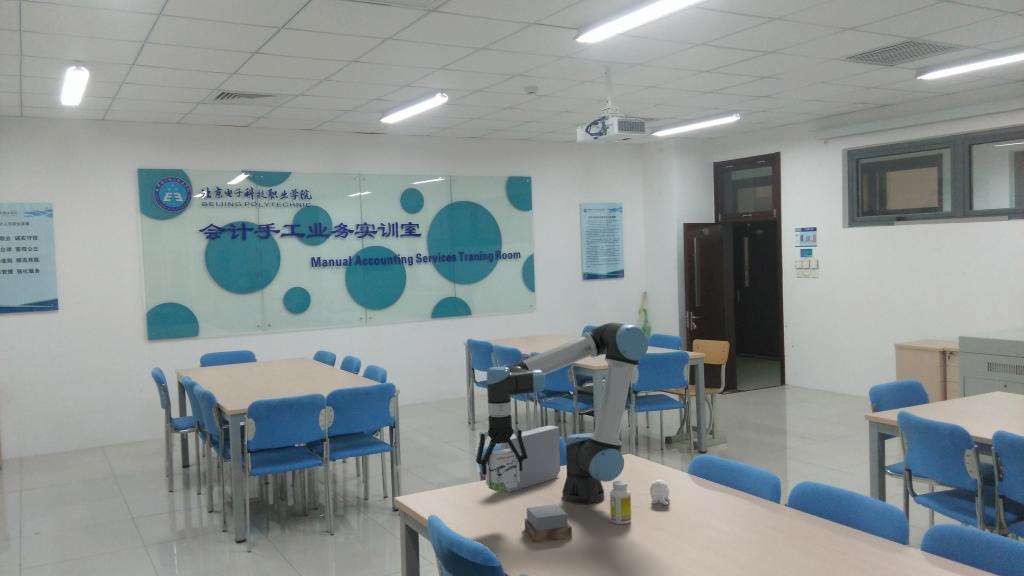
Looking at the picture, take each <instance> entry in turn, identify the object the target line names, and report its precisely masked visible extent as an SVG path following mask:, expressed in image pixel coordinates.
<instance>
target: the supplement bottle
mask: <svg viewBox="0 0 1024 576" xmlns="http://www.w3.org/2000/svg"><path fill="white" fill-rule="evenodd" d="M612 488H613V489H611V490H610V492H609V501H610V503H609V504H610V507H609V508H610V510H609V511H610V521H611V522H612V523H613V524H615V525H616V524H617V525H627V524H630V523H631V521H632V509H631V508H632V507H631V505H632V504H631V501H632V500H631V499H632V498H631V492H630V490H629V489H627V488H628V482H627V481H626V480H625V481H624V480H615V481H613V482H612Z"/></svg>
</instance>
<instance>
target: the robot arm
mask: <svg viewBox="0 0 1024 576" xmlns="http://www.w3.org/2000/svg"><path fill="white" fill-rule="evenodd" d="M648 349H649V339H648V336H647V334H646V332H645V331H644V330H643V328H641V327H639V326H636V325H633V324H631V323H630V324H628V323H621V322H607V323H604V324H602V325H599V326H597V327H594V328H593V329H590V330H588V331H584V332H583V333H582V334H581V336H580V337H577V338H575V339H573V340H570V341H567V342H565V343H563V344H561V345H558V346H556V347H554V348H550V349H548V350H546V351H543V352H541V353H539V354H538V353H537V354H536V355H533V356H532V357H529V358H526V359H523V360H522V361H519V362H516V363H514V364H511V363H510V364H508V363H507V364H504V365H502V366H492V367H489V368H487V371H486V390H487V414H488V415H489V416H488V430H487V432H479V434H478V435H479V443H478V449H477V453H476V458H475V462H476V463H477V465H481V473H482V475H483V476H485V477H484V479H485V484H486V486H489V485H490V484H489V465H488V459H489V457H490V455H491V453H492V452H493V451H494V448H495V447H496V445H499V444H500V445H501V443H506V442H507V443H508V444H509V446H510V448H511V449H512V451H513V452H514V454H515V455H516V458H517V460H516V466H517V482H520V473H519V471H522V461H523V460H524V459H527V454H526V450H525V447H524V444H523V440H522V432H523V431H522V430H521V429H520V428H517V429H513V424H512V422H513V421H512V415H511V413H512V403H511V402H512V399H511V397H512V396H516V395H525V394H526V395H527V394H535V393H539V392H543V391H544V390H545V388H546V375H548V374H551V373H553V372H556V371H557V370H560V369H563V368H565V367H568V366H571V365H572V364H574V363H577V362H579V361H582V360H584V359H586V358H589V357H590V358H593V359H594V358H596V357H599V356H602V355H603V356H604V355H605V357H604V360H605V362H606V363H607V370H606V374H605V379H604V384H603V388H602V391H601V392H602V393H601V396H600V397H601V398H600V403H599V407H598V412H597V417H596V422H595V427H594V432H592V433H591V432H589V433H587V432H586V433H585V432H584V433H576V434H570V435H567V437H566V440H565V453H566V454H565V455H566V456H565V458H566V478H565V481H564V485H563V488H562V492H561V493H562V499H563V500H564V501H566V502H568V503H572V504H577V505H585V504H587V505H588V504H589V505H591V504H596V503H599V502H602V501H603V500H605V490H604V489H605V488H604V487H603V484H602V482H606V483H607V482H612V481H614V480H615V479H616V478H618V477H619V476H620V475H621V473H622V472H623V470H624V468H625V467H624V466H625V458H624V457H623V454H622V453H621V451H622V445H623V443H622V441H621V439H620V434H621V429H622V428H621V427H622V425H623V418H624V414H625V409H626V404H627V399H628V395H629V389H630V383H631V380H632V375H633V370H634V369H636V368H637V367H639V363H640V359H642V358H643V357H645V355H646V354H647V352H648ZM513 434H515V436H516V437H517V440H518V444H519V447H520V450H521V454H522V455H521V456H520V455H519V453H518V451H517V450H516V448H515V446H514V445H513V443H512V441H511V440H510V438H511V436H512V435H513ZM488 437H490V440H489V443H488V447H486V448H487V449H486V450H485V444H486V440H487V438H488ZM484 450H485V453H484Z"/></svg>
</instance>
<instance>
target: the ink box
mask: <svg viewBox="0 0 1024 576" xmlns="http://www.w3.org/2000/svg"><path fill="white" fill-rule="evenodd" d="M487 464H488V465H489V484H490V485H488V489H490V490H492V491H494V492H501V491H506V490H505V489H509V488H513V487H517V466H516V455H515V454H514V452H513V451H512V450H510V449H504V450H501V449H500V450H493V451H492V453H491V455H490V457H489V459H488V462H487Z"/></svg>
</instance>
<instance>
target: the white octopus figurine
mask: <svg viewBox="0 0 1024 576" xmlns="http://www.w3.org/2000/svg"><path fill="white" fill-rule="evenodd" d="M649 494H650V498H651V499H652V500H651V504H657V503H658V502H660V504H662V505H664V506H667V504H668V505H669V502H668V500H669V498H670V495H671V494H670V488H669V486H668V484H667V482H666V481H665V480H663V479H656V480H654V481H653V482H652V483H651V484H650V487H649Z"/></svg>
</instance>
